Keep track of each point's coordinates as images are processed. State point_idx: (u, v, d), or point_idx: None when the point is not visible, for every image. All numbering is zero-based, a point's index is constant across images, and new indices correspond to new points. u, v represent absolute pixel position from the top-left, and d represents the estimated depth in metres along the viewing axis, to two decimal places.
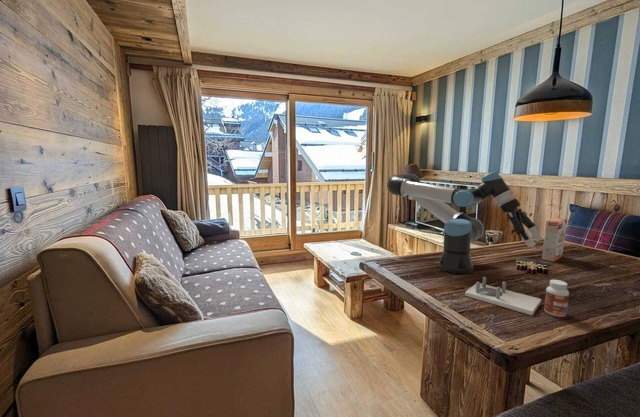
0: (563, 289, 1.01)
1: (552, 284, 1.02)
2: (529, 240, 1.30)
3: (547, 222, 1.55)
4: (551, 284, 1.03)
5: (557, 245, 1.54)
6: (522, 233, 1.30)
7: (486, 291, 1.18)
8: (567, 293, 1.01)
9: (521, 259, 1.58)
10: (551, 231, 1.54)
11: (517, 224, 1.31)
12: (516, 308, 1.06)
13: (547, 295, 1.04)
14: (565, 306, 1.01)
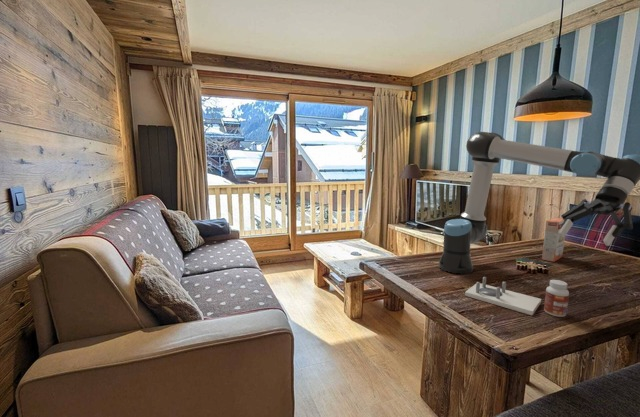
0: (563, 289, 1.01)
1: (552, 284, 1.02)
2: (611, 237, 0.98)
3: (547, 222, 1.55)
4: (551, 284, 1.03)
5: (557, 245, 1.54)
6: (622, 229, 0.98)
7: (486, 291, 1.18)
8: (567, 293, 1.01)
9: (521, 259, 1.58)
10: (551, 231, 1.54)
11: (631, 220, 0.98)
12: (516, 308, 1.06)
13: (547, 295, 1.04)
14: (565, 306, 1.01)
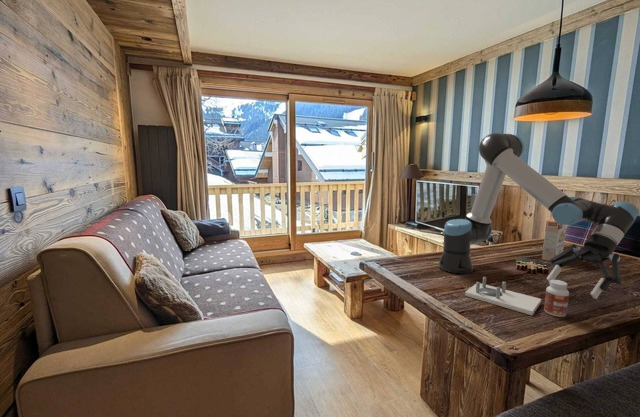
0: (563, 289, 1.01)
1: (552, 284, 1.02)
2: (599, 291, 0.97)
3: (547, 222, 1.55)
4: (551, 284, 1.03)
5: (557, 245, 1.54)
6: (610, 282, 0.96)
7: (486, 291, 1.18)
8: (567, 293, 1.01)
9: (521, 259, 1.58)
10: (551, 231, 1.54)
11: (619, 273, 0.96)
12: (516, 308, 1.06)
13: (547, 295, 1.04)
14: (565, 306, 1.01)
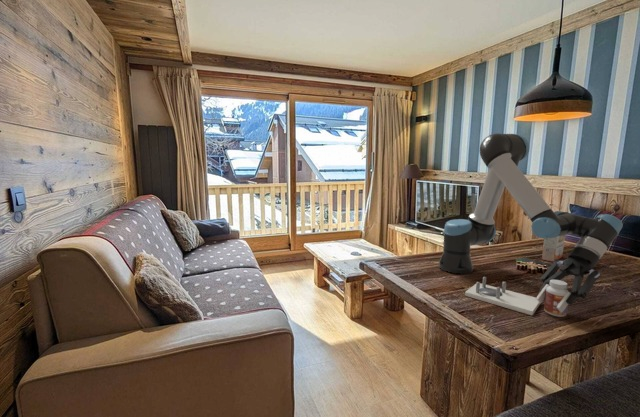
0: (563, 289, 1.01)
1: (552, 284, 1.02)
2: (565, 304, 1.00)
3: None
4: (551, 284, 1.03)
5: (557, 245, 1.54)
6: (576, 296, 0.99)
7: (486, 291, 1.18)
8: None
9: (521, 259, 1.58)
10: None
11: (589, 289, 0.98)
12: (516, 308, 1.06)
13: (547, 295, 1.04)
14: None
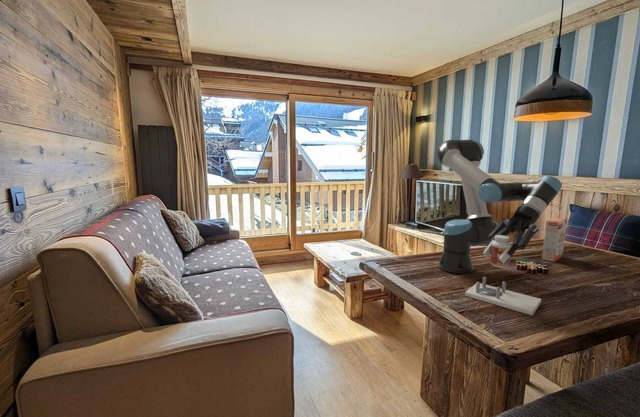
0: (505, 242, 1.11)
1: (496, 238, 1.12)
2: (507, 256, 1.09)
3: (547, 222, 1.55)
4: (496, 238, 1.12)
5: (557, 245, 1.54)
6: (516, 248, 1.09)
7: (486, 291, 1.18)
8: None
9: (521, 259, 1.58)
10: (551, 231, 1.54)
11: (527, 241, 1.08)
12: (516, 308, 1.06)
13: (492, 249, 1.13)
14: None
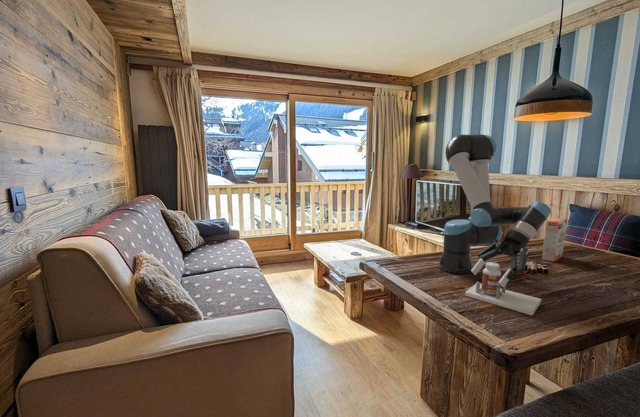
0: (495, 270, 1.14)
1: (487, 265, 1.16)
2: (506, 280, 1.10)
3: (547, 222, 1.55)
4: (486, 266, 1.16)
5: (557, 245, 1.54)
6: (515, 272, 1.09)
7: None
8: (499, 273, 1.14)
9: None
10: (551, 231, 1.54)
11: (524, 265, 1.10)
12: (516, 308, 1.06)
13: (483, 276, 1.17)
14: (497, 285, 1.14)
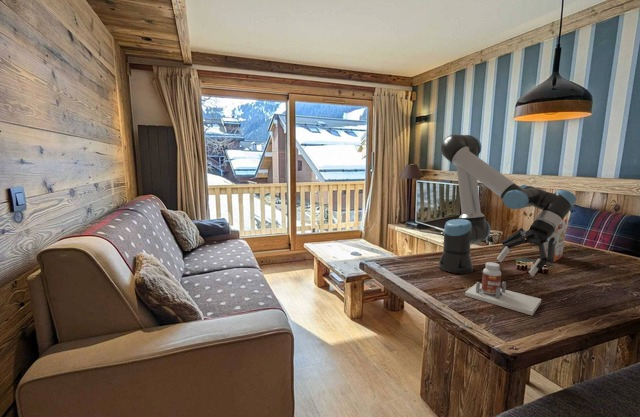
0: (495, 270, 1.14)
1: (487, 265, 1.16)
2: (536, 269, 1.14)
3: None
4: (486, 266, 1.16)
5: (557, 245, 1.54)
6: (545, 262, 1.13)
7: None
8: (499, 273, 1.14)
9: (521, 259, 1.58)
10: None
11: (553, 254, 1.13)
12: (516, 308, 1.06)
13: (483, 276, 1.17)
14: (497, 285, 1.14)
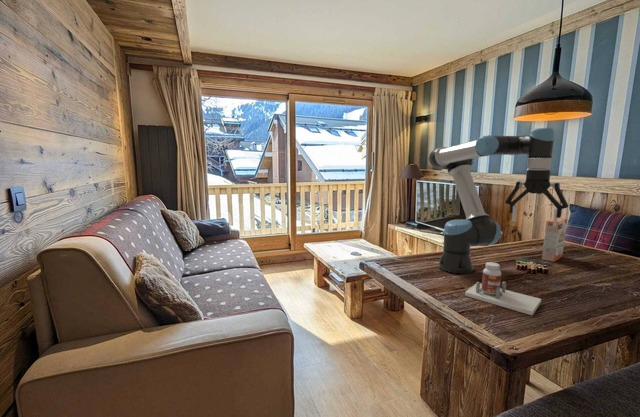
0: (495, 270, 1.14)
1: (487, 265, 1.16)
2: (556, 219, 1.16)
3: (547, 222, 1.55)
4: (486, 266, 1.16)
5: (557, 245, 1.54)
6: (561, 209, 1.14)
7: None
8: (499, 273, 1.14)
9: (521, 259, 1.58)
10: (551, 231, 1.54)
11: (564, 198, 1.14)
12: (516, 308, 1.06)
13: (483, 276, 1.17)
14: (497, 285, 1.14)
